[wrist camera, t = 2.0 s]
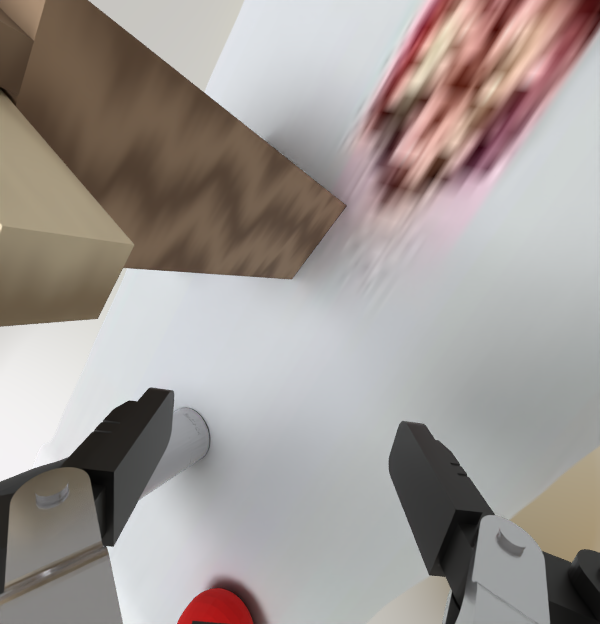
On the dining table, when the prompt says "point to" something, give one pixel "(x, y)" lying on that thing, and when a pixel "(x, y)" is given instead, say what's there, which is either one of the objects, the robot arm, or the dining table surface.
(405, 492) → the robot arm
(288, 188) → the pedestal
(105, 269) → the wooden block
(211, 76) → the dining table surface
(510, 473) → the dining table surface
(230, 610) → the tomato
